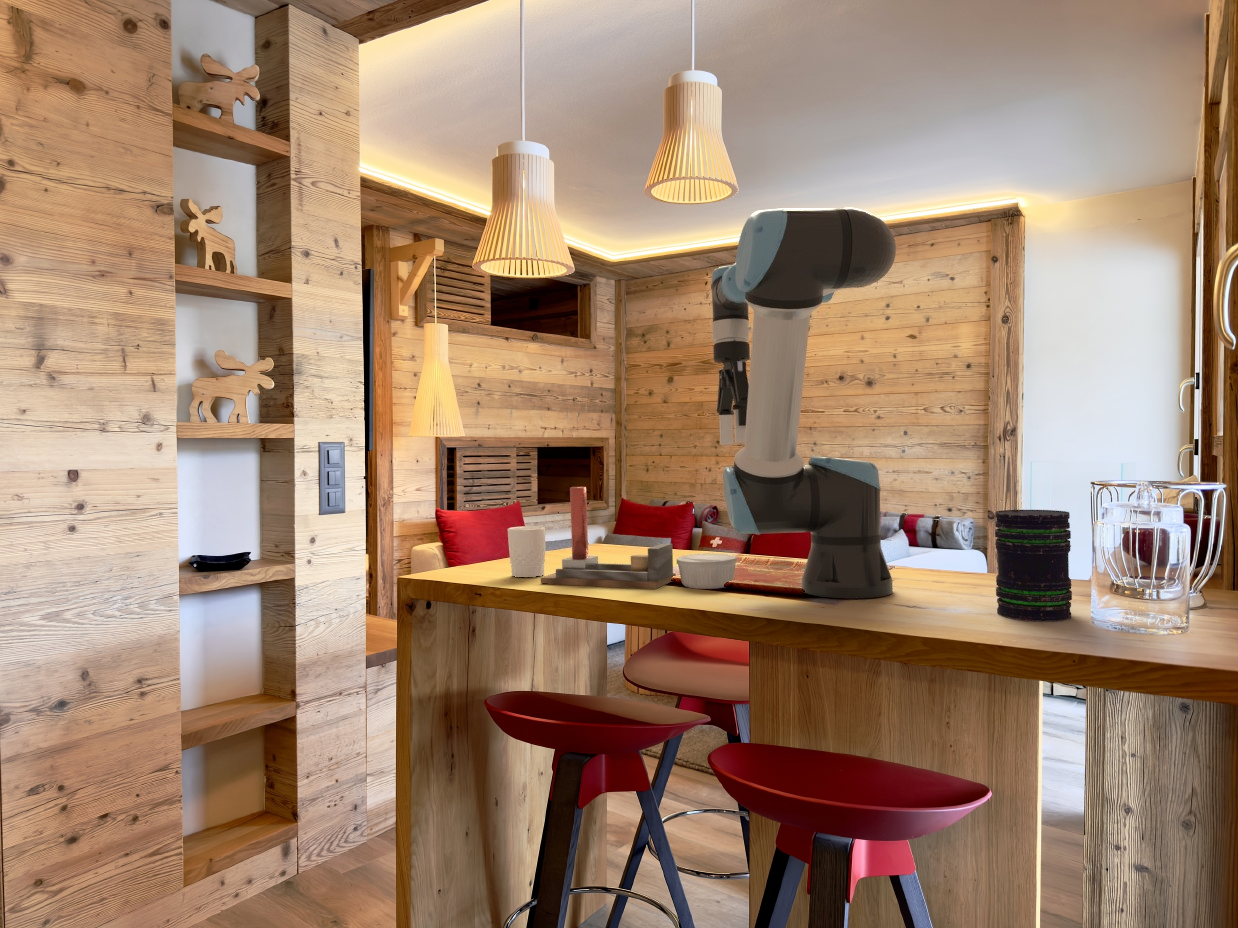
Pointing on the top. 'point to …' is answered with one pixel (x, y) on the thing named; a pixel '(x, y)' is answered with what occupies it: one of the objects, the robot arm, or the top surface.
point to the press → (621, 573)
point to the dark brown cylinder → (1033, 565)
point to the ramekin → (706, 570)
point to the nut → (639, 563)
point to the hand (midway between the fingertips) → (734, 444)
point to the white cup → (527, 550)
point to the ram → (579, 533)
